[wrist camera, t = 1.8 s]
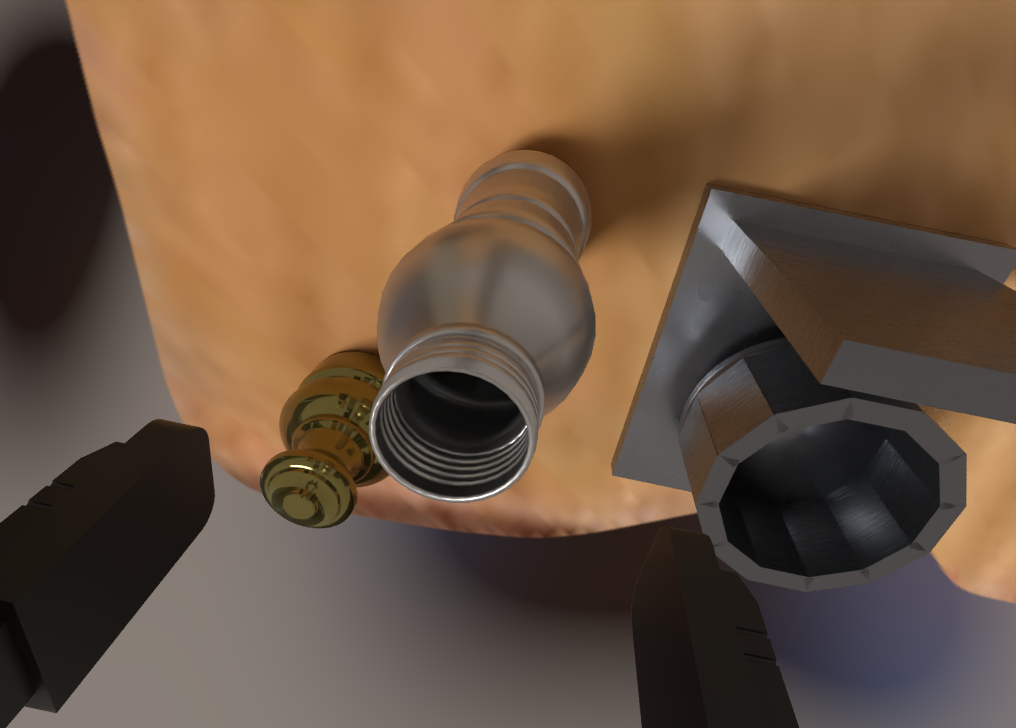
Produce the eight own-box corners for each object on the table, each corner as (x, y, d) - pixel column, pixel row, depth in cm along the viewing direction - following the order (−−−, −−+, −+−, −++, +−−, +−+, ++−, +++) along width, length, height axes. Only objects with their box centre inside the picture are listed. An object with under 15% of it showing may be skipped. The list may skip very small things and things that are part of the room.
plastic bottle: (617, 209, 29) (678, 448, 11) (523, 293, 32) (456, 588, 14) (530, 111, 27) (444, 216, 10) (438, 209, 30) (242, 429, 12)
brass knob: (288, 362, 36) (195, 462, 27) (394, 336, 34) (331, 434, 25) (338, 453, 39) (269, 569, 30) (437, 434, 37) (394, 551, 28)
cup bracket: (706, 183, 28) (811, 288, 15) (1007, 244, 28) (1356, 399, 15) (611, 463, 37) (628, 672, 24) (838, 510, 36) (972, 744, 24)
